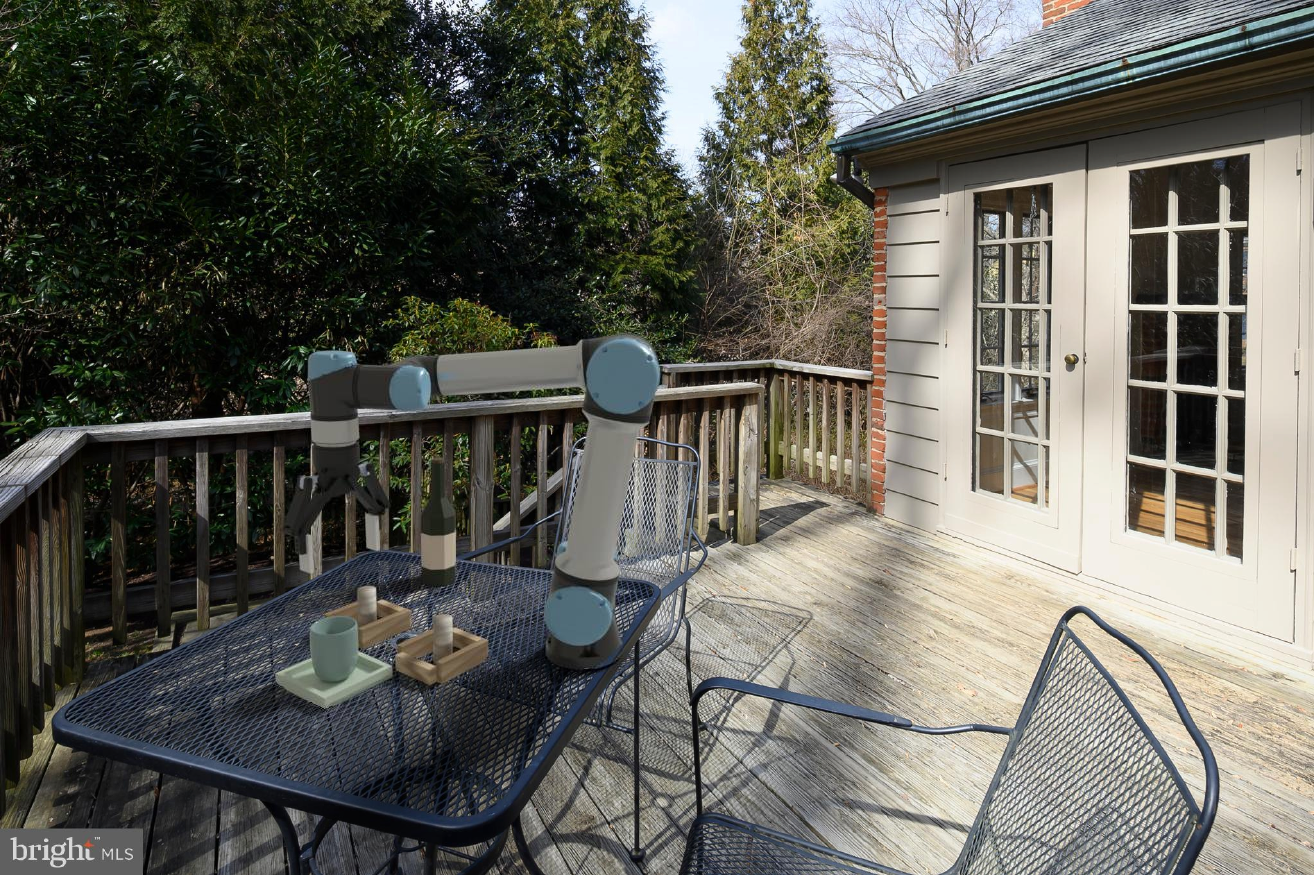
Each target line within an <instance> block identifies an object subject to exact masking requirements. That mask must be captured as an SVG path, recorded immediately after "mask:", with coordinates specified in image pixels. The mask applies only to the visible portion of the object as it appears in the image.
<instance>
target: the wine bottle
mask: <svg viewBox="0 0 1314 875" xmlns="http://www.w3.org/2000/svg"><path fill="white" fill-rule="evenodd" d="M456 527H457V526H456V509H455V508H454V507H453V505H452V504H451V502H450V501H449V499H448V497H446V461H444V458H443V457H433V458H432V461H430V498H429V499H428V500H427V502H426V505H425V506H424V507H423V510H422V512H421V513H420V550H421V551H420V554H421V555H420V556H421V562H420V564H421V584H424V585H426V586H429V587H446V586H448V585H450V584H451V585H452V584H454V583H455V582H456V579H455V576H456V575H457V571H456V570H457V569H456V568H457V566H456V565H457V561H456V560H457V557H456V554H457V552H456V551H457V548H456V544H457V543H456V540H457V539H456V537H457V536H456ZM456 577H457V576H456ZM454 581H455V582H454Z"/></svg>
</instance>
